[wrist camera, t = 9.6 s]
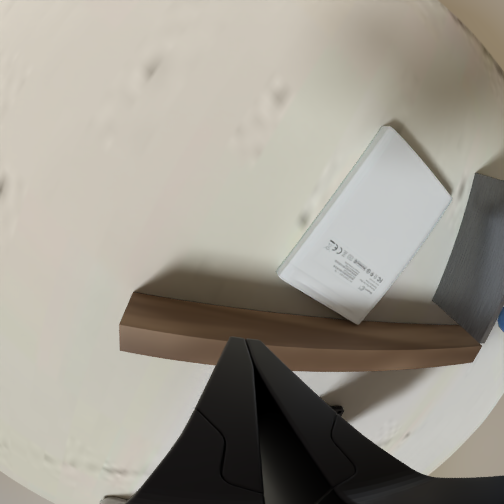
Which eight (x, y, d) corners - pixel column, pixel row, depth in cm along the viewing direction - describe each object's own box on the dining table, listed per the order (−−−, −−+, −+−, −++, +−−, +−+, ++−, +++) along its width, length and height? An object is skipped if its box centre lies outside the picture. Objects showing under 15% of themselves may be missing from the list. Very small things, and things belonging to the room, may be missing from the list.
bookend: (467, 304, 25) (510, 340, 18) (432, 300, 24) (479, 343, 17) (506, 192, 21) (559, 212, 15) (475, 172, 20) (537, 191, 13)
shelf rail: (451, 340, 27) (472, 362, 23) (132, 316, 20) (119, 350, 17) (460, 325, 26) (482, 345, 22) (133, 291, 20) (119, 324, 16)
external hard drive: (441, 195, 21) (352, 316, 24) (378, 125, 18) (273, 268, 21) (454, 200, 19) (360, 327, 22) (391, 125, 17) (278, 278, 20)
